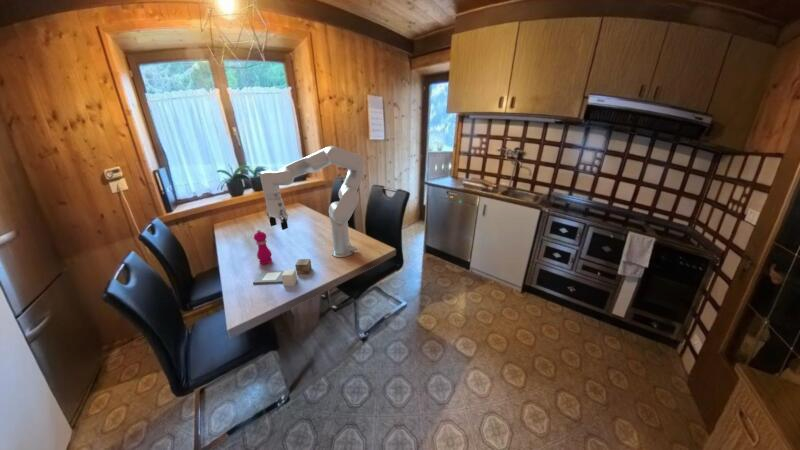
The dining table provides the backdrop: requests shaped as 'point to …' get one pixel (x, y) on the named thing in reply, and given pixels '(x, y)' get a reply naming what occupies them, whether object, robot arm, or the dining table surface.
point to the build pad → (269, 277)
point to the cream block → (289, 277)
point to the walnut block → (303, 266)
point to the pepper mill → (262, 248)
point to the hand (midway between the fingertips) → (279, 227)
